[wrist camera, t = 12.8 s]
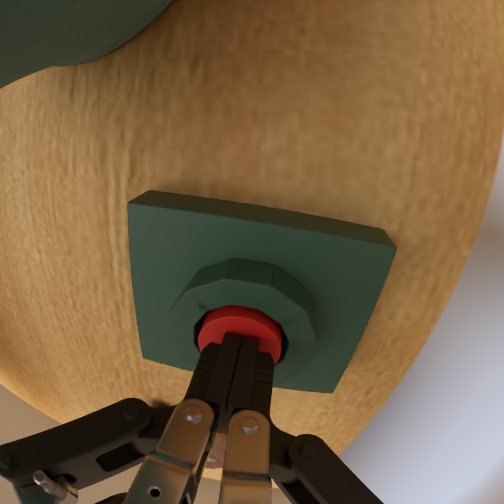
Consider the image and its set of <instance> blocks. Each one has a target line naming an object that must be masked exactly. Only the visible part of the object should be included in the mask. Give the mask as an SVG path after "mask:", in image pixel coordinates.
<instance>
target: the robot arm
mask: <svg viewBox="0 0 504 504" xmlns="http://www.w3.org/2000/svg"><path fill="white" fill-rule="evenodd" d="M241 341H242V344H241ZM259 345H260V339H259V338H253V337H247V336H243V340H242V336H241V335H236V334H231V333H226V332H225V334H224V337H223V340H222V344H219V343H214V342H210V343H209V344H208V345H207V346H205V347H204V348H203V349H202V352H201V355H200V358H199V360H198V363H197V366H196V368H195V371H194V374H193V377H192V379H191V382H190V385H189V387H188V390H187V393H186V395H185V398H184V399H183V400H182V401H181V402H180V403H179V404H177V405H175V406H172V407H168V408H150V407H149V406H148V404H147V403H145V402H144V401H142V400H140V399H137V398H126V399H123V400H121V401H119V402H116V403H114V404H112V405H110V406H107V407H105V408H102V409H100V410H98V411H95V412H93V413H90V414H88V415H86V416H83V417H81V418H78V419H75V420H73V421H70V422H68V423H65V424H62V425H60V426H57V427H54V428H52V429H49V430H46V431H43V432H41V433H37V434H34V435H32V436H29V437H25V438H23V439H19V440H16V441H13V442H10V443H6V444H3V445H0V475H1V476H2V477H4V478H5V479H6V480H8V481H9V482H10V483H11V484H12V486H13V488H14V491H15V493H16V496H17V498H18V500H19V503H20V504H76V503H77V501H78V492H77V490H80V489H82V488H85V487H88V486H90V485H93V484H95V483H98V482H100V481H103V480H105V479H107V478H109V477H112V476H114V475H116V474H118V473H121V472H123V471H125V470H127V469H129V468H131V467H134V466H136V465H138V464H140V463H141V462H143V463H142V465H141V467H140V469H139V471H138V473H137V475H136V477H135V479H134V481H133V483H132V485H131V487H130V489H129V491H128V492H125V493H119V494H116V495H113V496H110V497H108V498H106V499H104V500H102V501H100V502H97V503H95V504H193V503H194V500H195V497H196V494H197V489H198V486H199V483H200V480H201V477H202V474H203V472H204V469H205V466H206V463H207V461H208V458H209V455H210V452H211V449H212V447H213V444H214V441H215V437H216V433H220V434H222V431H223V427H224V423H225V428H224V434H226V435H227V441H226V448H225V454H224V462H223V470H222V478H221V486H220V494H219V501H218V504H271V496H272V482H271V478H272V479H273V480H274V482H275V483H276V484H277V486H278V487H279V488H280V489H281V491H282V492H283V493H284V494H285V495H286V497H287V498H288V499H289V501H290V502H291V503H292V504H384V503H382V502H381V500H380V499H379V498H378V497H377V496H376V495H374V494H373V493H372V492H371V491H370V490H369V489H368V488H367V487H366V486H365V485H364V484H363V483H362V482H361V480H360V479H359V478H357V476H356V475H355V474H354V473H353V472H352V471H351V470H350V469H349V468H348V467H347V466H346V465H345V464H344V463H343V462H342V461H341V460H340V459H339V457H338V456H337V455H336V454H335V453H334V452H333V451H332V450H331V449H330V448H329V447H328V445H327V444H326V443H325V442H324V441H323V440H322V439H321V438H319V437H317V436H315V435H311V434H302V435H299V436H297V437H295V436H293V435H291V434H288V433H286V432H283V431H281V430H280V429H278V428H277V427H276V426H275V425H274V424H273V422H272V421H271V418H270V404H271V395H272V385H273V376H274V375H273V374H274V365H275V362H274V360H273V357H272V355H271V353H268V352H262V351H259ZM240 347H241V349H240ZM225 419H226V420H225Z"/></svg>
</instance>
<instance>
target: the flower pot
mask: <svg viewBox="0 0 504 504" xmlns="http://www.w3.org/2000/svg"><path fill="white" fill-rule="evenodd" d="M171 1H172V0H0V89H1V88H2V87H4V86H6V85H8V84H10V83H12V82H14V81H16V80H18V79H21V78H23V77H25V76H27V75H30V74H32V73H35V72H37V71H40V70H43V69H45V68H48V67H51V66H71V65H77V64H81V63H85V62H89V61H91V60H94V59H96V58H99V57H101V56H103V55H105V54H107V53H109V52H111V51H113V50H114V49H116V48H117V47H119V46H120V45H122V44H123V43H125V42H126V41H128V40H129V39H131V38H132V37H133V36H135V35H136V34H137V33H139V32H140V31H141V30H142V29H144V28H145V27H146V26H147V25H148V24H150V23H151V22H152V21H153V20H154V19H155V18H156V17H157V16H158V15H159V14H160V13H161V12H162V11H163V10H164V9H165V8H166V7H167V6H168V5H169V4H170V2H171Z"/></svg>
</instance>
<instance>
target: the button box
mask: <svg viewBox="0 0 504 504" xmlns="http://www.w3.org/2000/svg"><path fill="white" fill-rule="evenodd" d="M128 233H129V250H130V264H131V275H132V285H133V295H134V303H135V311H136V318H137V325H138V332H139V338H140V344H141V350H142V356H143V358H145V359H148V360H151V361H155V362H158V363H162V364H165V365H169V366H173V367H177V368H181V369H185V370H189V371H193V372H194V371H195V368H196V366H197V363H198V360H199V358H200V355H201V351H200V348H199V344H198V337H199V333H200V331H201V328H202V326H203V323H204V321H205V318H206V316H207V314H208V311H209V310H212V309H216V308H220V307H224V306H228V305H237V306H243V307H248V308H254V309H259V310H261V311H262V312H264V313H265V314H267V315H268V316H269V317H271V318H272V319H274V320H275V321H277V322H278V323H280V324H281V326H282V343H281V354H280V357H279V359H278V361H277V363H276V364H275V365H274V374H273V375H274V376H273V385H272V387H277V388H284V389H292V390H301V391H310V392H320V393H333V392H334V390H335V388H336V386H337V384H338V383H339V381H340V379H341V377H342V375H343V373H344V371H345V369H346V367H347V365H348V363H349V361H350V360H351V358H352V356H353V353H354V351H355V349H356V347H357V345H358V343H359V341H360V339H361V337H362V335H363V332H364V330H365V328H366V326H367V324H368V321H369V319H370V317H371V315H372V312H373V310H374V307H375V305H376V303H377V300H378V298H379V295H380V293H381V290H382V288H383V285H384V283H385V280H386V278H387V275H388V272H389V269H390V267H391V264H392V261H393V258H394V256H395V253H396V250H397V247H396V246H395V245H394V243H393V242H392V241H391V239H390V238H389V237H388V235H387V234H386V233H385V231H384V230H382V229H377V228H372V227H368V226H363V225H358V224H353V223H348V222H344V221H339V220H333V219H328V218H323V217H318V216H313V215H307V214H302V213H296V212H291V211H285V210H279V209H273V208H267V207H261V206H255V205H249V204H243V203H236V202H230V201H223V200H216V199H209V198H202V197H195V196H187V195H180V194H172V193H164V192H156V191H147V192H145V193H143V194H142V195H140V196H138V197H136V198H135V199H133V200H131V201H130V202H128Z"/></svg>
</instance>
